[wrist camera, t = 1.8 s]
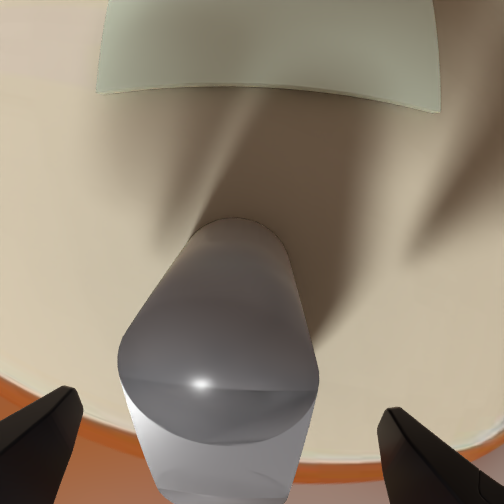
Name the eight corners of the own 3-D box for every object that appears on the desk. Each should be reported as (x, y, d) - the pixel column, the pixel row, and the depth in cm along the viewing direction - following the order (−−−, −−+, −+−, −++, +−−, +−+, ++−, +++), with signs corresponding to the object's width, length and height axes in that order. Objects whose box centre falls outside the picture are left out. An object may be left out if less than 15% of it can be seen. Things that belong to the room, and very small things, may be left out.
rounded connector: (294, 220, 11) (335, 301, 5) (271, 431, 14) (275, 532, 8) (179, 216, 11) (101, 288, 5) (194, 426, 14) (174, 525, 8)
